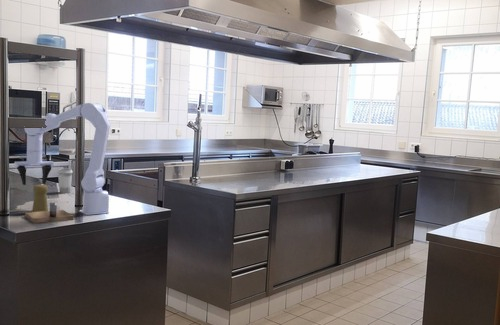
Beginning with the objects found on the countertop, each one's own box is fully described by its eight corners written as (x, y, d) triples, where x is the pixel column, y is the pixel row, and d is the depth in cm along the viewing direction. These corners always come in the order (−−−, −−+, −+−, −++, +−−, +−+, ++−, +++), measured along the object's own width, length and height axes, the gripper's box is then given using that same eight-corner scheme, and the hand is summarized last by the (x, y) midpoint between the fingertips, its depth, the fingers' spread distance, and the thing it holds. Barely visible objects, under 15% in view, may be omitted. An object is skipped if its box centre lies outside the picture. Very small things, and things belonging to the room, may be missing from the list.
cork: (51, 212, 193) (51, 185, 192) (36, 214, 189) (36, 186, 188) (44, 210, 197) (44, 183, 196) (29, 211, 193) (29, 184, 192)
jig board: (62, 213, 193) (62, 209, 193) (73, 219, 184) (73, 215, 184) (25, 216, 185) (25, 212, 184) (34, 223, 175) (34, 218, 175)
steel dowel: (55, 215, 182) (55, 202, 182) (57, 216, 180) (57, 203, 180) (48, 216, 181) (48, 202, 180) (50, 217, 179) (50, 203, 179)
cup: (63, 195, 232) (63, 170, 230) (54, 193, 235) (54, 169, 234) (75, 194, 238) (76, 169, 237) (66, 192, 241) (67, 168, 240)
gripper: (50, 150, 206) (49, 182, 207) (12, 149, 196) (12, 183, 198) (55, 151, 200) (54, 184, 201) (17, 151, 191) (16, 185, 192)
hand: (34, 184), depth 199 cm, fingers open, 7 cm apart
